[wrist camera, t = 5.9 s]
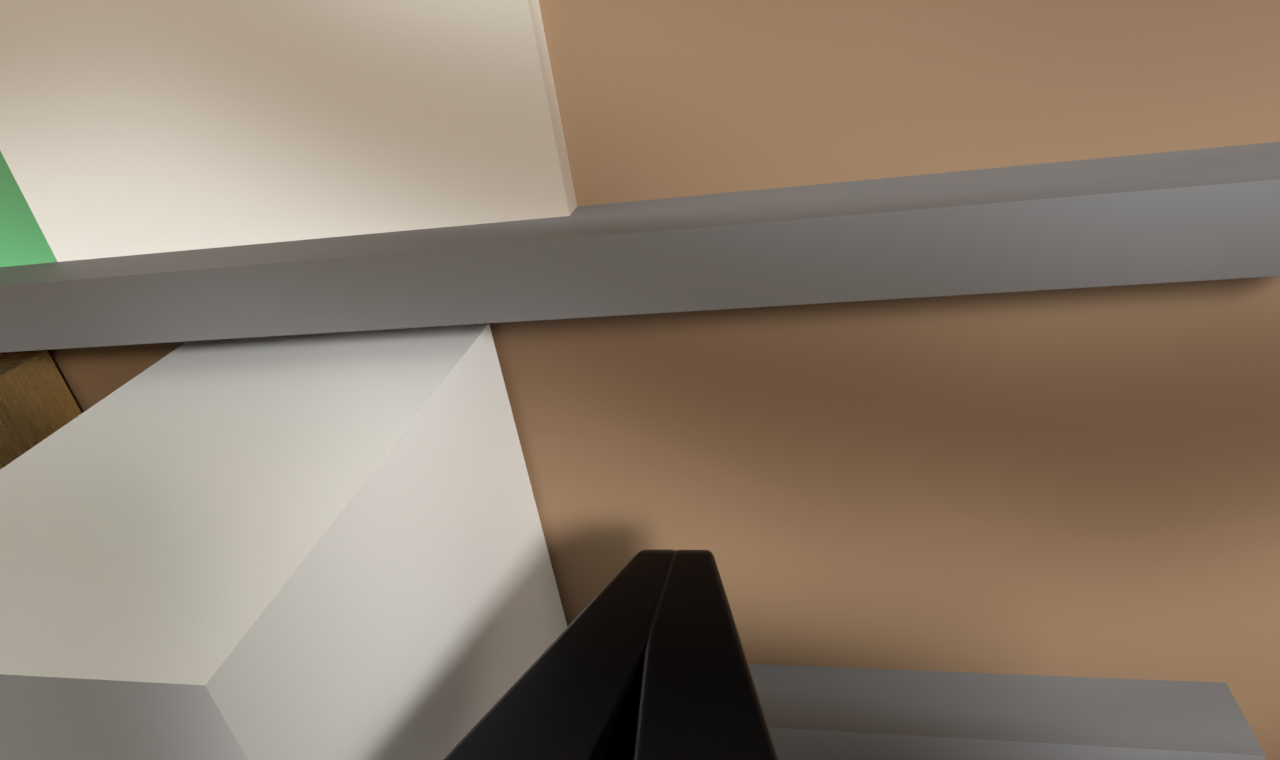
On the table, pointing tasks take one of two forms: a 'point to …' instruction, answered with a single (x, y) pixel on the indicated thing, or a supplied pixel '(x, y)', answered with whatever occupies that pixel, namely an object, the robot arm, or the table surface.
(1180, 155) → the base
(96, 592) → the ivory matte cube
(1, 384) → the brushed brass plate
